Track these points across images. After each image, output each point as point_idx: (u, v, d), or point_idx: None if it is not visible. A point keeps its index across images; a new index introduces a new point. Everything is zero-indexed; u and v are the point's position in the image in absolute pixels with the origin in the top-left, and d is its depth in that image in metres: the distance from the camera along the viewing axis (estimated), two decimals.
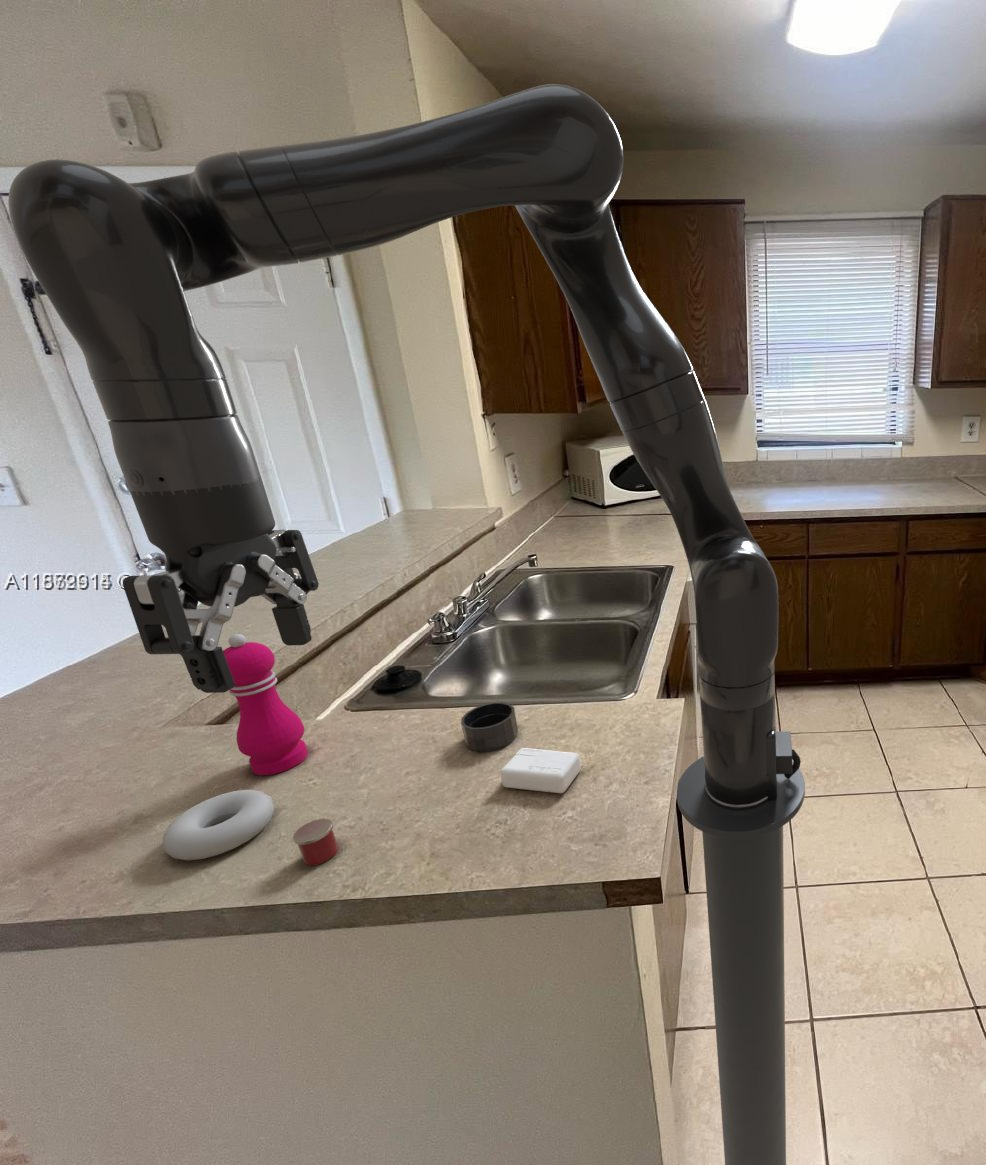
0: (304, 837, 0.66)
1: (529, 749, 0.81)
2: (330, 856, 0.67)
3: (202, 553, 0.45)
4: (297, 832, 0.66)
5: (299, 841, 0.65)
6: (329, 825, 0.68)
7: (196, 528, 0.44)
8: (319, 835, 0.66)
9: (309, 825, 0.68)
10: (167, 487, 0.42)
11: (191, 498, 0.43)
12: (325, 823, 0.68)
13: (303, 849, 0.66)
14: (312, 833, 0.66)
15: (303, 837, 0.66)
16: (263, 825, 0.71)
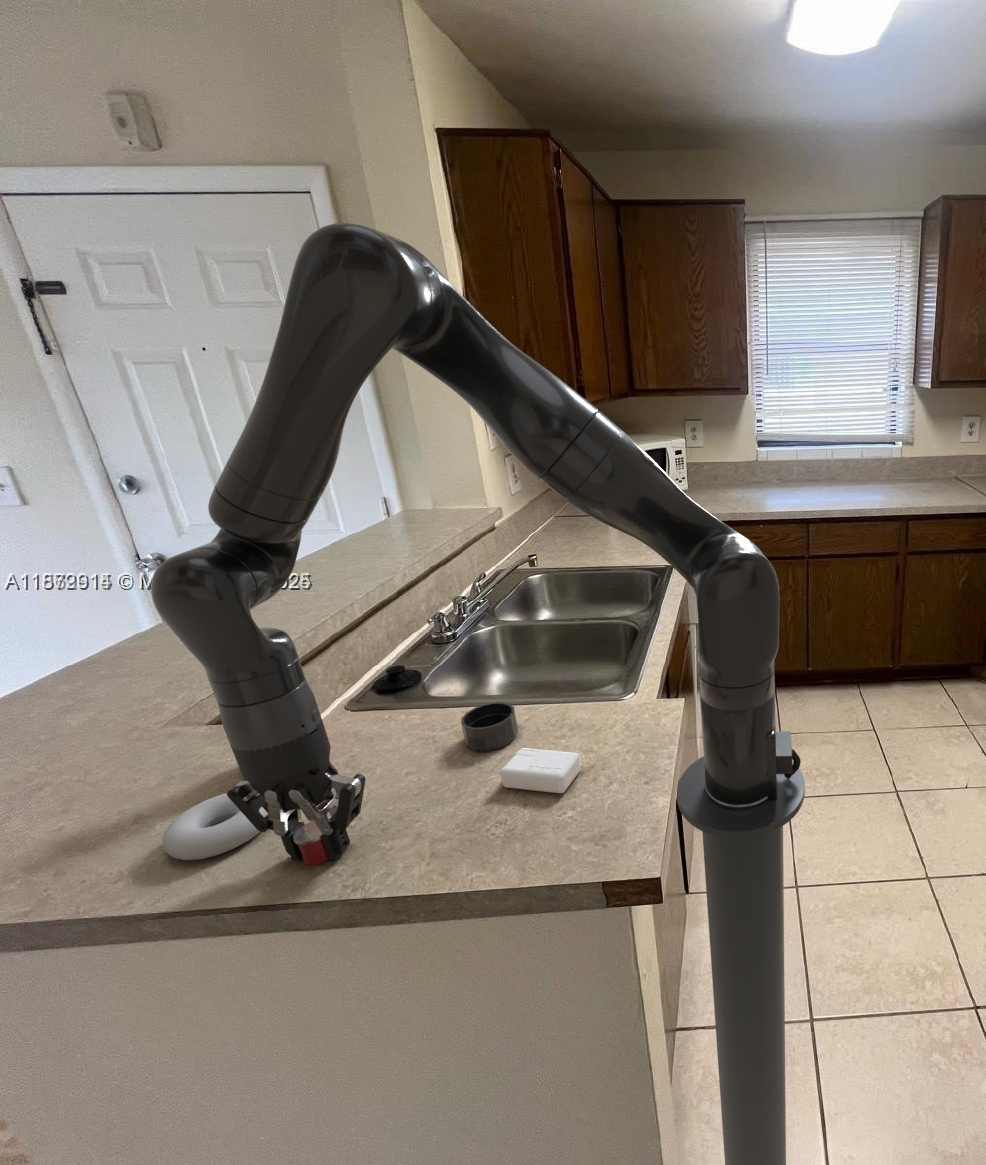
0: (304, 837, 0.66)
1: (529, 749, 0.81)
2: None
3: None
4: (296, 832, 0.66)
5: (299, 841, 0.65)
6: None
7: None
8: (319, 835, 0.66)
9: (309, 825, 0.68)
10: None
11: None
12: None
13: (303, 849, 0.66)
14: (312, 833, 0.66)
15: (303, 837, 0.66)
16: None
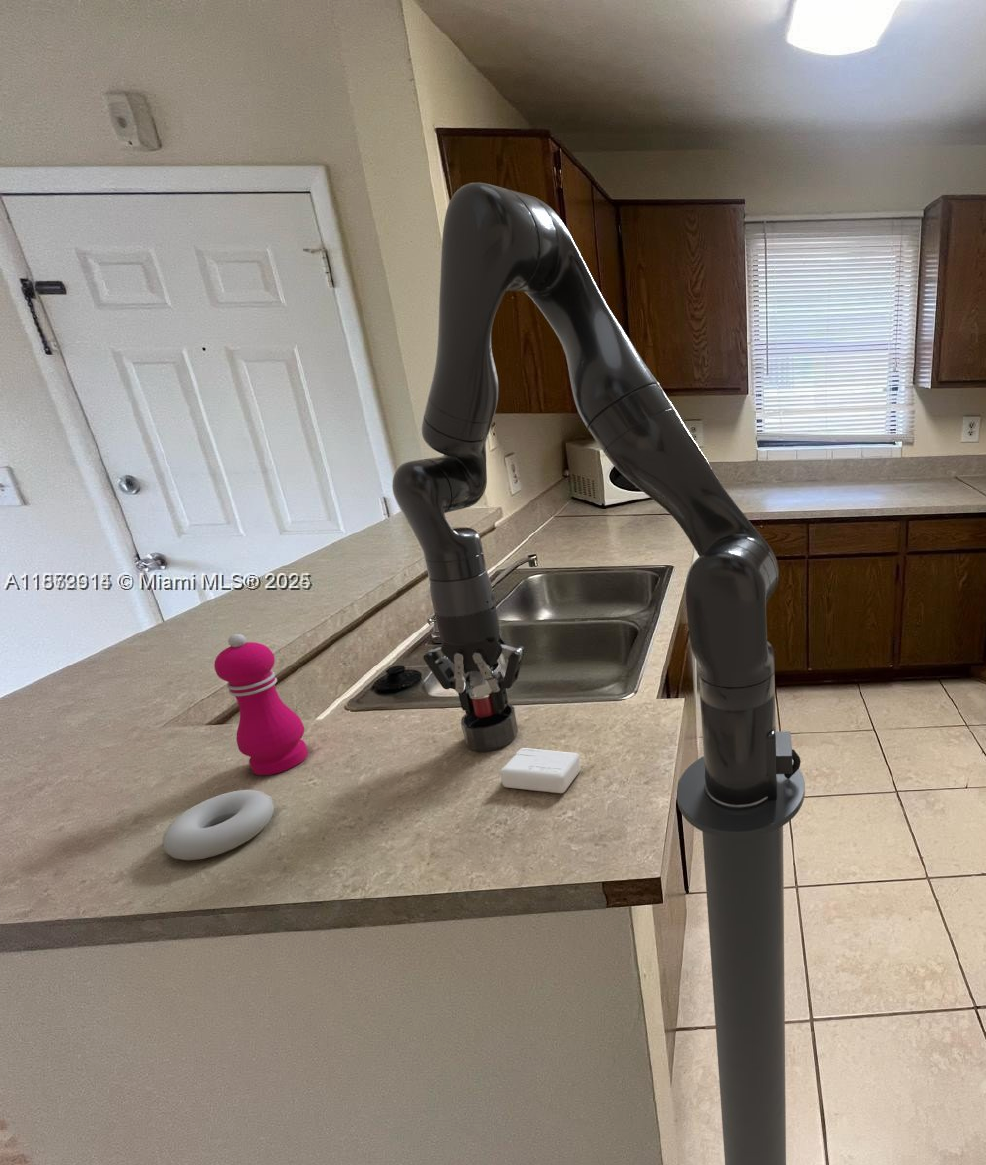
0: (477, 694, 0.85)
1: (529, 749, 0.81)
2: None
3: None
4: (470, 691, 0.86)
5: (474, 696, 0.85)
6: None
7: None
8: (488, 693, 0.86)
9: (478, 687, 0.87)
10: None
11: (435, 616, 0.80)
12: None
13: (477, 704, 0.85)
14: (482, 692, 0.86)
15: (476, 694, 0.85)
16: (263, 825, 0.71)
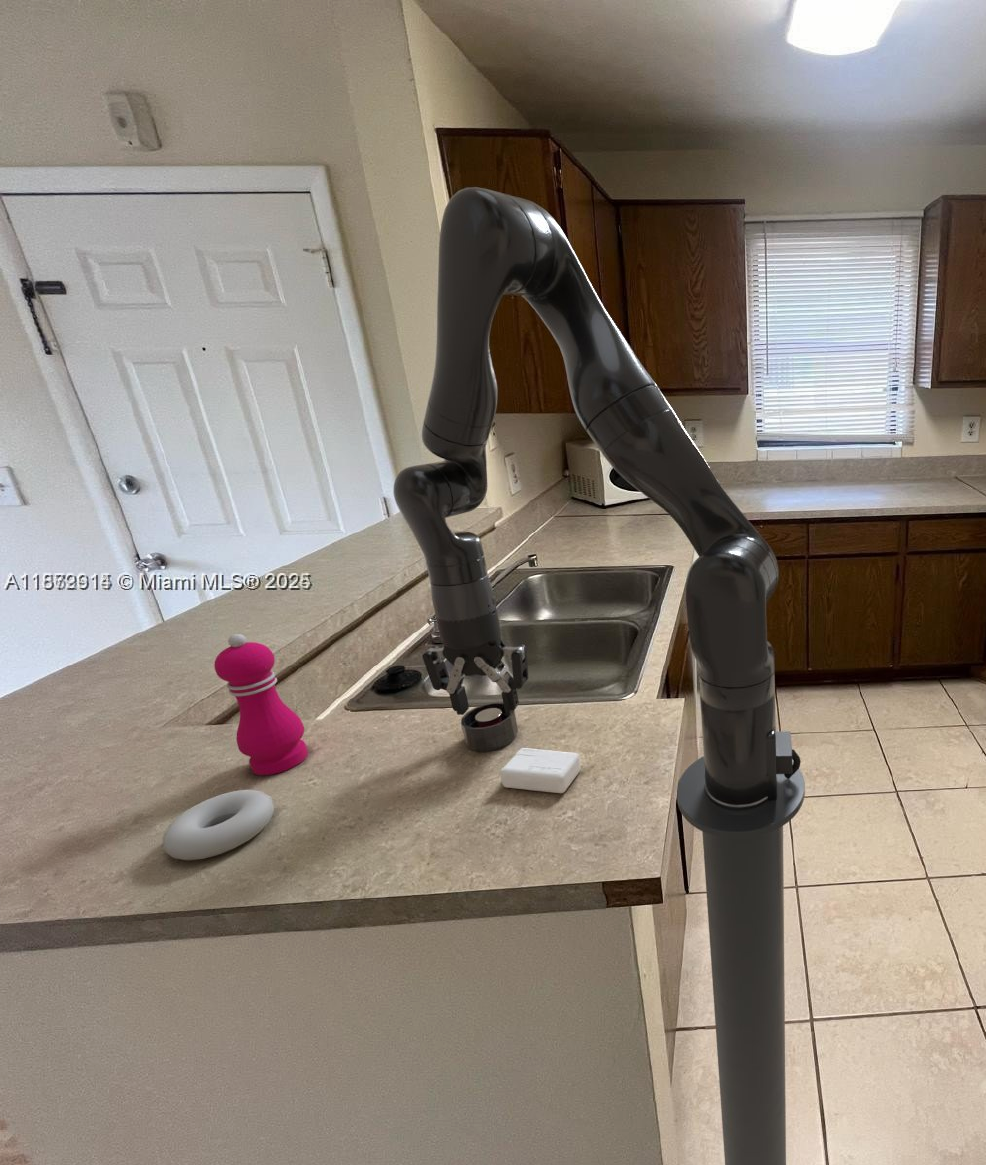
0: (484, 718, 0.87)
1: (529, 749, 0.81)
2: None
3: None
4: (477, 716, 0.87)
5: (481, 721, 0.86)
6: (499, 711, 0.89)
7: None
8: (494, 717, 0.87)
9: (484, 711, 0.89)
10: None
11: None
12: (496, 710, 0.89)
13: None
14: (489, 716, 0.87)
15: (483, 718, 0.87)
16: (263, 825, 0.71)
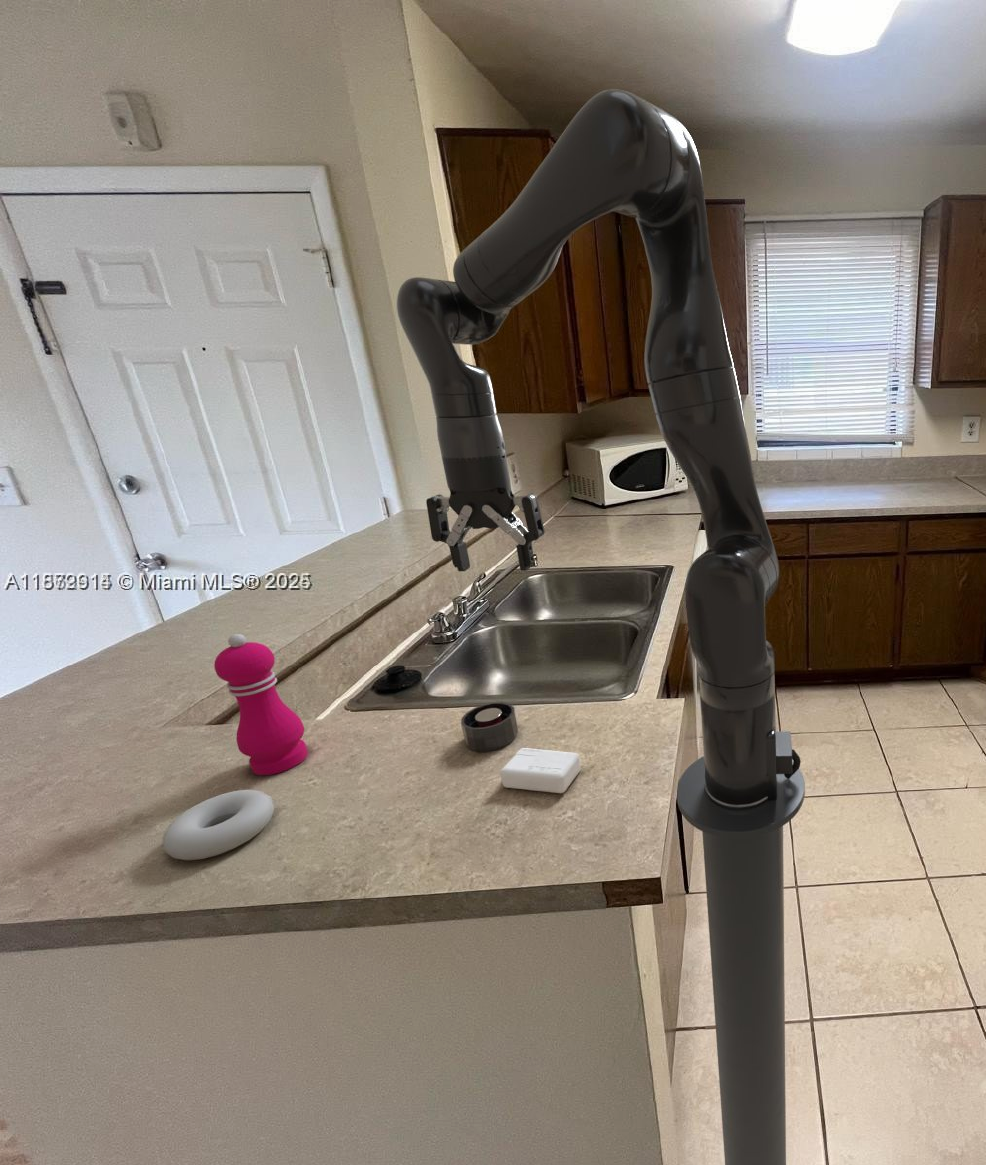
0: (484, 718, 0.87)
1: (529, 749, 0.81)
2: None
3: (455, 493, 0.77)
4: (477, 716, 0.87)
5: (481, 721, 0.86)
6: (499, 711, 0.89)
7: (446, 478, 0.76)
8: (494, 717, 0.87)
9: (484, 711, 0.89)
10: None
11: None
12: (496, 710, 0.89)
13: None
14: (489, 716, 0.87)
15: (483, 718, 0.87)
16: (263, 825, 0.71)
